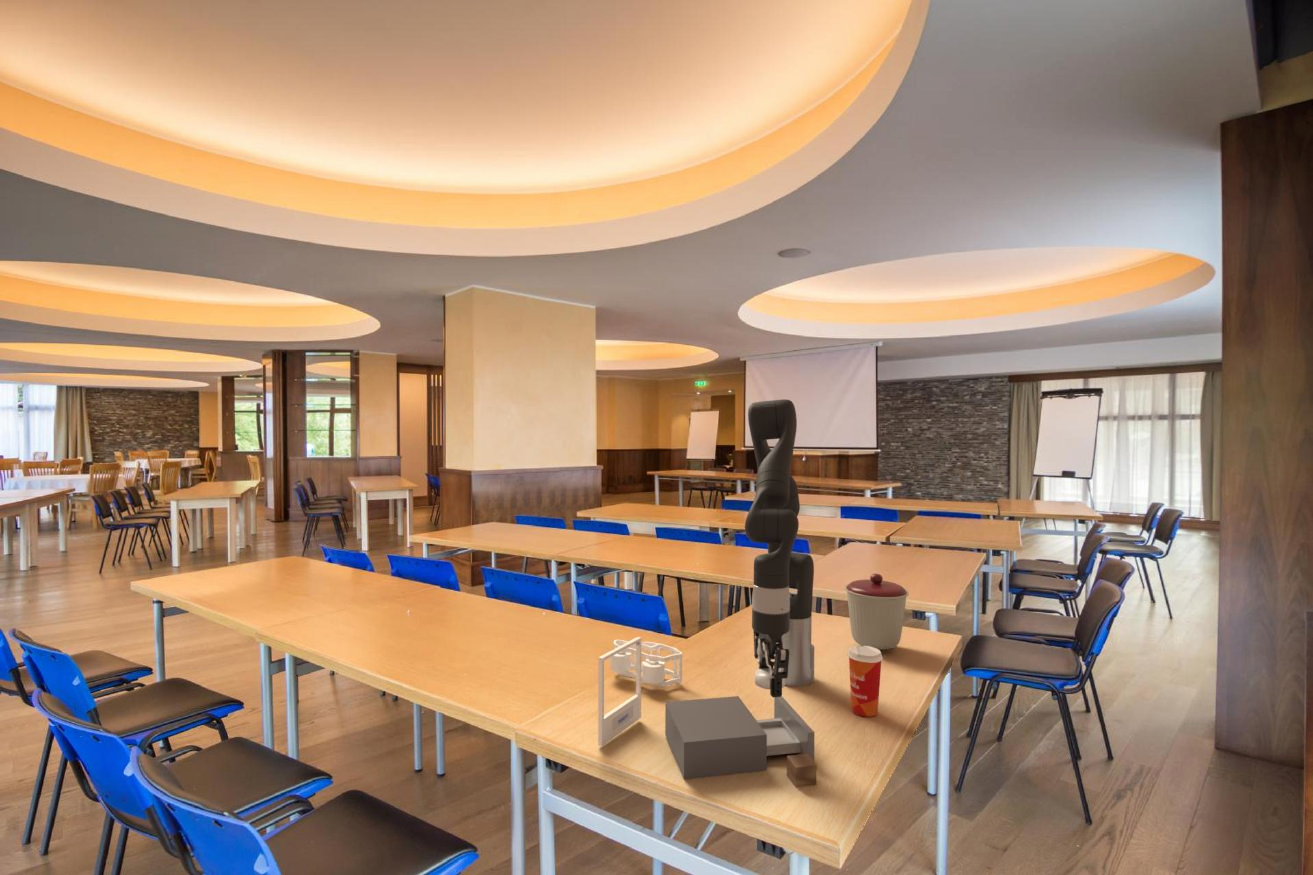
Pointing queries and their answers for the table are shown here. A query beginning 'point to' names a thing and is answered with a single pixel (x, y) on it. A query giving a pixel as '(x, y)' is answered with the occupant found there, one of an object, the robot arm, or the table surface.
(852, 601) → the canister
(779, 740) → the grey drawer
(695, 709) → the grey drawer box
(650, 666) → the cup holder
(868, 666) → the paper cup
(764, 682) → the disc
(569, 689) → the table surface
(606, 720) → the photo frame
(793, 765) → the block
